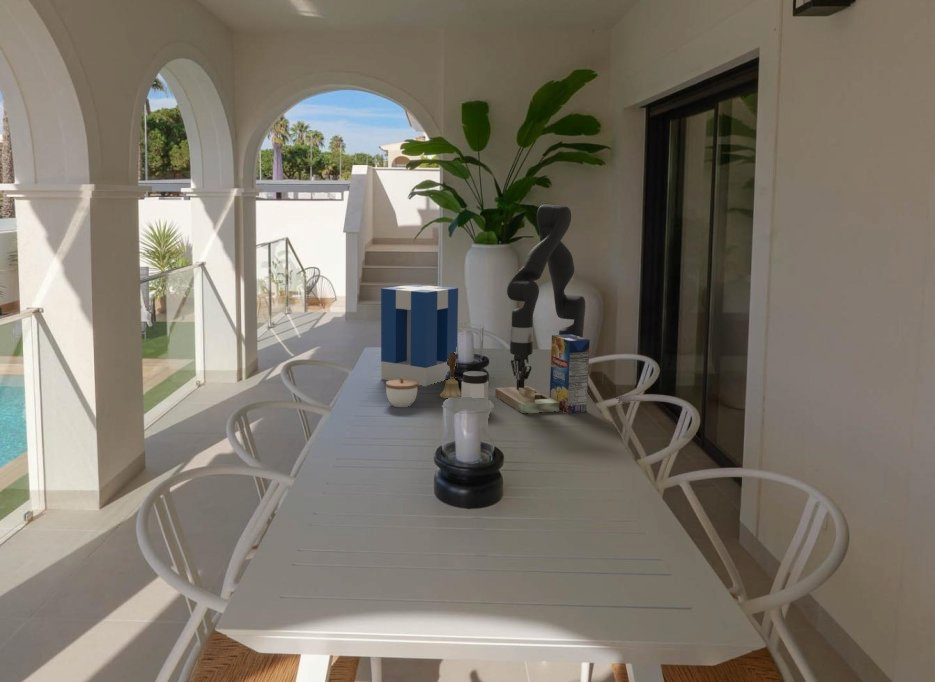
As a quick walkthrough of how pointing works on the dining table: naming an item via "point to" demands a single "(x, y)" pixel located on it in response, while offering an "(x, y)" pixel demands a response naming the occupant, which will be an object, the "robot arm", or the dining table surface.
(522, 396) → the beech block
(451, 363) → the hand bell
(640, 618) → the dining table surface
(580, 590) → the dining table surface
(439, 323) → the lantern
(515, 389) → the wooden compartment tray
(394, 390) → the lidded jar
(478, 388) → the jar
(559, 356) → the juice carton
